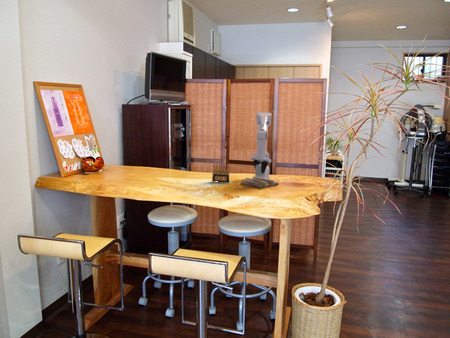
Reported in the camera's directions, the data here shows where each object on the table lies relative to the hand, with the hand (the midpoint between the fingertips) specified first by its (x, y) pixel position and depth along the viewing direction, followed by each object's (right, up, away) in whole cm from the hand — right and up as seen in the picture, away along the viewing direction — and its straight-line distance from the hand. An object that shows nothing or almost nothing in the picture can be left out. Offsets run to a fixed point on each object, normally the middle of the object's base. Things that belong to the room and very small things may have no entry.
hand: (260, 172), depth 230 cm
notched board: (0, -8, +1) cm, 8 cm away
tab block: (0, -1, 0) cm, 2 cm away
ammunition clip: (-24, -6, +5) cm, 26 cm away
